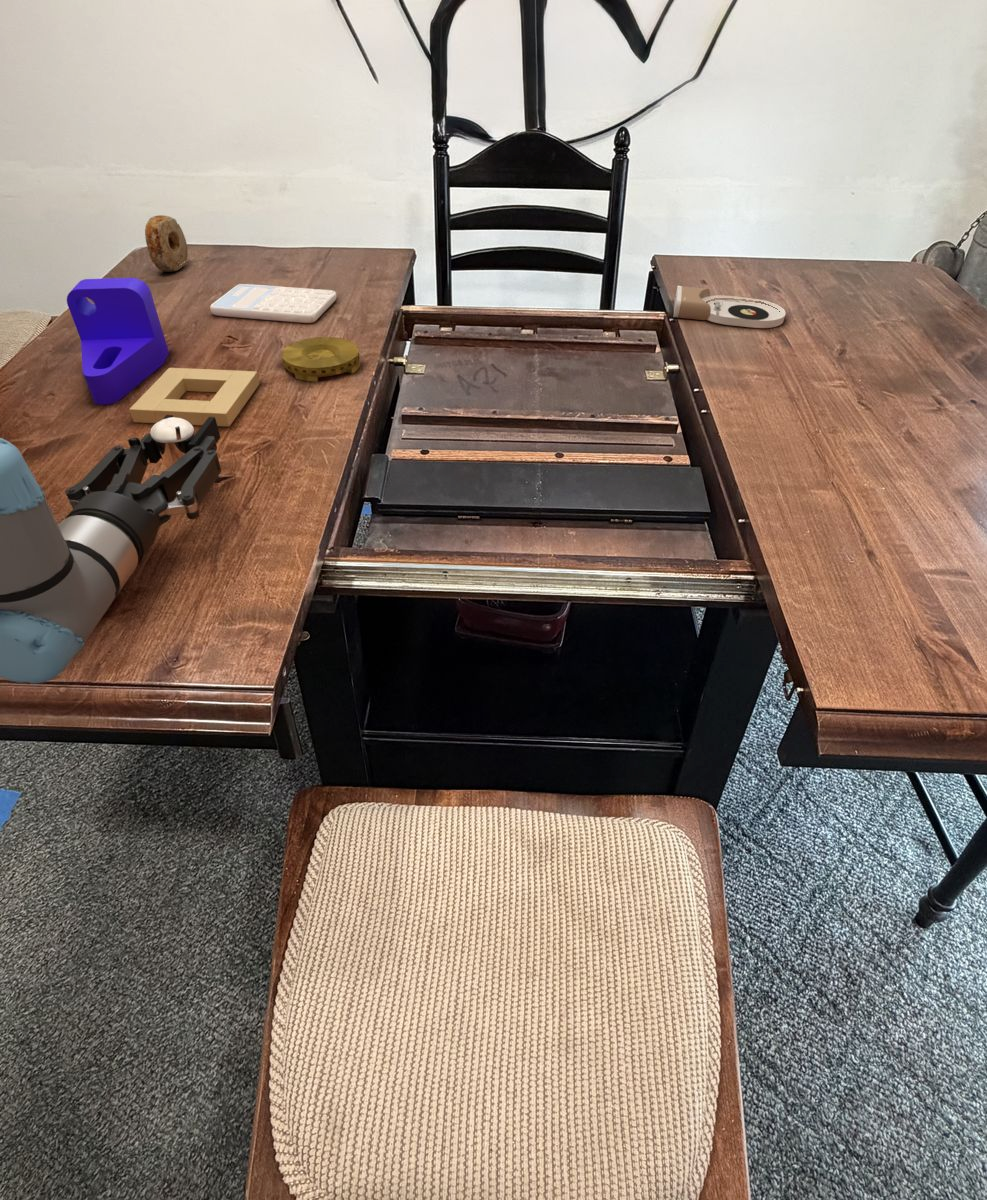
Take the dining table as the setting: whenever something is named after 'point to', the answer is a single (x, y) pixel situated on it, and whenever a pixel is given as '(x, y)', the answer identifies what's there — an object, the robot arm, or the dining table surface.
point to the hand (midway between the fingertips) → (193, 426)
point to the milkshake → (172, 439)
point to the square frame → (176, 381)
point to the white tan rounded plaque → (726, 309)
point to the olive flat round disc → (321, 357)
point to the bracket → (116, 335)
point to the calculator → (274, 303)
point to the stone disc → (166, 243)
